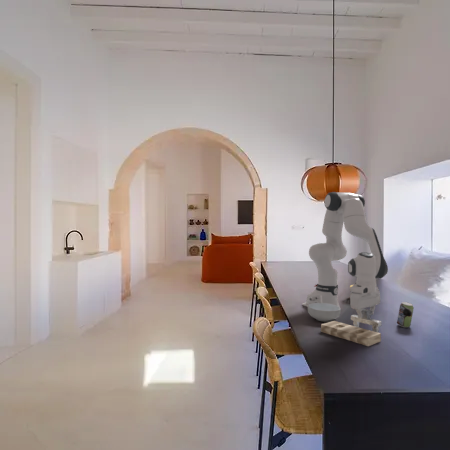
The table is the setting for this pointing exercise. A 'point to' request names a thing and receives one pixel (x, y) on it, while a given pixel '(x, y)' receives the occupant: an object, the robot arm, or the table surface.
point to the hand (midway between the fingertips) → (365, 316)
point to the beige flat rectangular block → (351, 333)
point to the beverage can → (405, 314)
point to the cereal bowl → (324, 311)
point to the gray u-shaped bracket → (366, 320)
